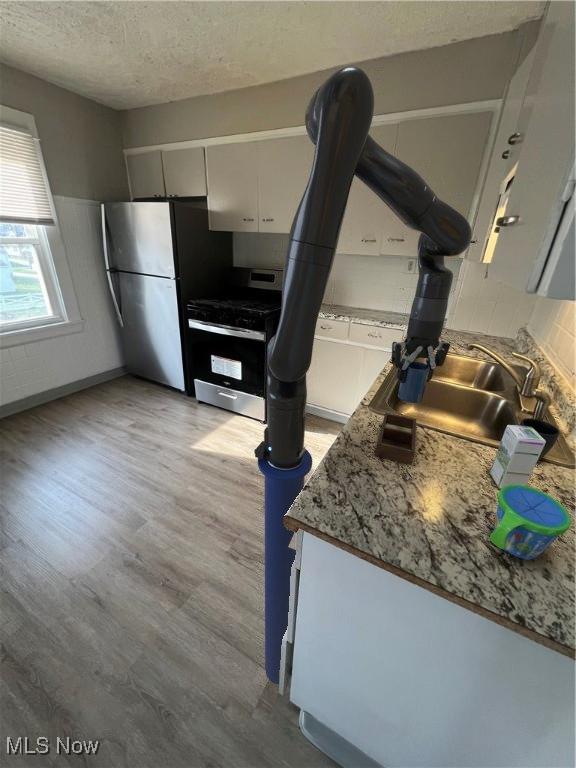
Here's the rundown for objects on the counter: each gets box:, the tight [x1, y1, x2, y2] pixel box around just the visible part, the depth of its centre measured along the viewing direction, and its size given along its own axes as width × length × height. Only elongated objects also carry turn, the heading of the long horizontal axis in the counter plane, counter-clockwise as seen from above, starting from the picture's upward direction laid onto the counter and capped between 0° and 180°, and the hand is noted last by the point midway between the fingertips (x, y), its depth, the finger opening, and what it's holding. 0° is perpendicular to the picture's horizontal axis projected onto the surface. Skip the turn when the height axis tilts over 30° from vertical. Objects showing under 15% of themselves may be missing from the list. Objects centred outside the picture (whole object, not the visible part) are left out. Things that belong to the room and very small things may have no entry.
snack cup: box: [489, 484, 572, 561], centre depth 58 cm, size 16×10×10 cm
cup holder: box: [375, 412, 417, 466], centre depth 88 cm, size 9×17×4 cm, turn 158°
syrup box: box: [489, 424, 546, 490], centre depth 73 cm, size 6×6×14 cm
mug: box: [503, 417, 560, 463], centre depth 84 cm, size 8×12×10 cm
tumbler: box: [397, 360, 430, 404], centre depth 80 cm, size 6×6×9 cm
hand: (413, 381), depth 80 cm, fingers closed on tumbler, 6 cm apart
